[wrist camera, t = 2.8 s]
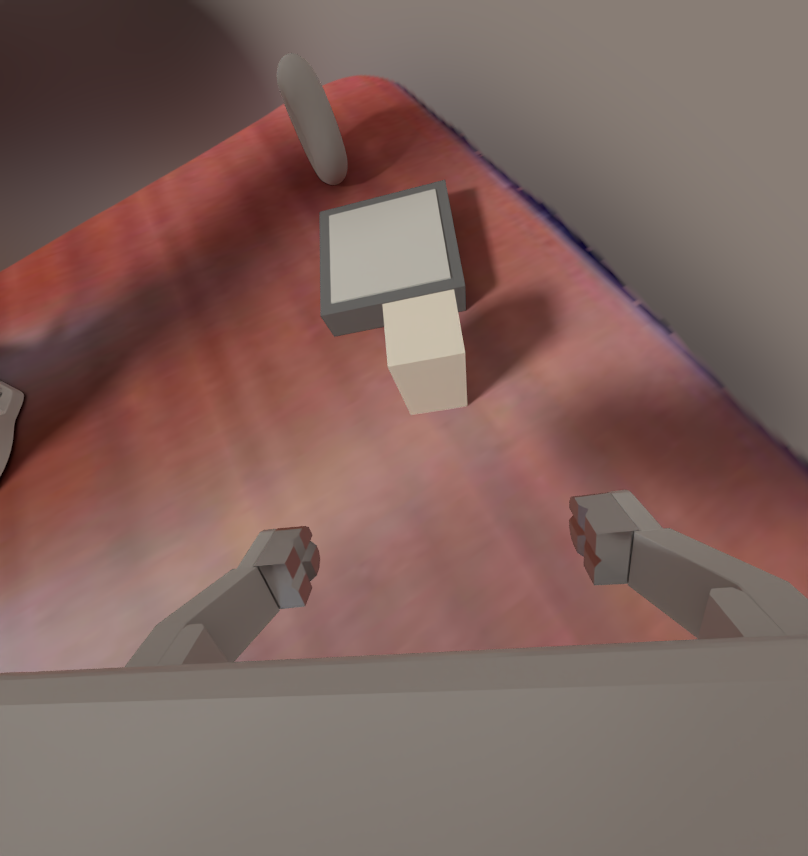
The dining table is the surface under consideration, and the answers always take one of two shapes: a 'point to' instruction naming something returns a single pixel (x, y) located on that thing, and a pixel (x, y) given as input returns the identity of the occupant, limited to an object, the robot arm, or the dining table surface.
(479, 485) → the dining table surface
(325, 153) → the donut
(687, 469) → the dining table surface
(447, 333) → the cream block
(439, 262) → the charcoal base
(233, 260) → the dining table surface
